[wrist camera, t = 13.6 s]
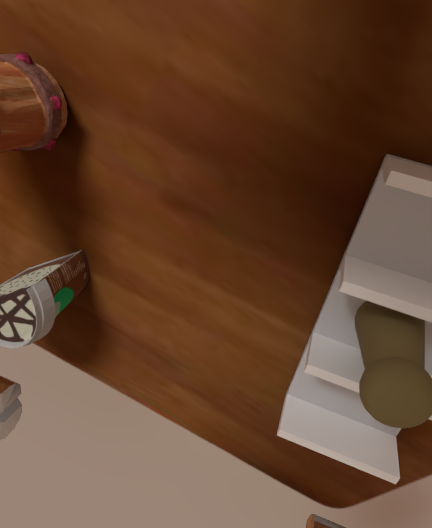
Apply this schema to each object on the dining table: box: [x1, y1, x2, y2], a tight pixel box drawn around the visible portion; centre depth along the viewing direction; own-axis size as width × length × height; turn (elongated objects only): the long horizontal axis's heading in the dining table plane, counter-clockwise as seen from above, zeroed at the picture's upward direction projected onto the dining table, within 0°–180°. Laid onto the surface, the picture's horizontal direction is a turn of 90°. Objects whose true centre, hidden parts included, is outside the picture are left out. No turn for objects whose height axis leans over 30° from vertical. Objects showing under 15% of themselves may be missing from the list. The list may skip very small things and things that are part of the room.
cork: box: [355, 301, 432, 428], centre depth 33 cm, size 6×6×11 cm
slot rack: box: [277, 154, 432, 484], centre depth 35 cm, size 28×12×6 cm, turn 167°
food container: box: [0, 250, 89, 348], centre depth 45 cm, size 12×6×10 cm, turn 113°
